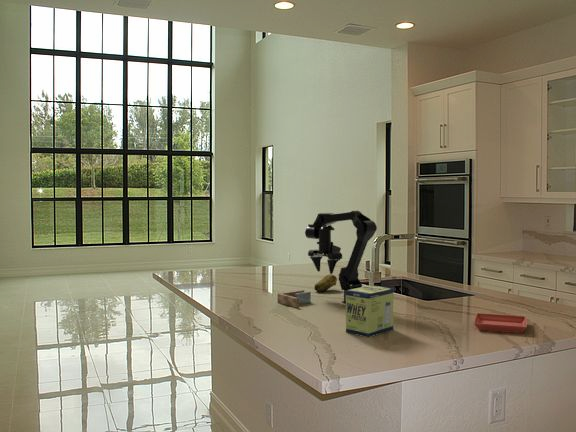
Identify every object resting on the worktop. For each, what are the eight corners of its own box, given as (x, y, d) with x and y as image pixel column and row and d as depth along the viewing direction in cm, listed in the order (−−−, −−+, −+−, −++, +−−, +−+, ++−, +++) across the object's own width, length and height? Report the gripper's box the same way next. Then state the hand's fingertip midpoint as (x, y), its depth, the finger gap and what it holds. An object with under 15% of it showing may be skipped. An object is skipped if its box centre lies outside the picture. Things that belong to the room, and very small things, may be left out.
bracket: (296, 305, 258) (296, 294, 258) (289, 303, 263) (289, 292, 262) (310, 302, 263) (310, 291, 263) (302, 300, 267) (302, 290, 267)
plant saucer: (476, 320, 227) (476, 312, 227) (526, 324, 221) (526, 315, 220) (473, 331, 210) (473, 322, 210) (527, 336, 204) (527, 326, 204)
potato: (310, 290, 293) (310, 274, 293) (333, 288, 297) (333, 273, 297) (316, 293, 285) (316, 277, 285) (340, 291, 289) (340, 275, 289)
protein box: (345, 332, 210) (344, 290, 209) (371, 325, 220) (371, 284, 220) (368, 337, 202) (368, 293, 201) (394, 329, 213) (394, 287, 212)
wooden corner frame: (322, 303, 261) (322, 294, 261) (296, 307, 252) (296, 298, 252) (302, 298, 272) (302, 290, 272) (277, 302, 263) (277, 293, 263)
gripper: (351, 240, 269) (351, 273, 270) (325, 237, 284) (325, 268, 285) (332, 241, 262) (333, 275, 263) (307, 238, 277) (307, 271, 278)
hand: (324, 272), depth 272 cm, fingers open, 9 cm apart
